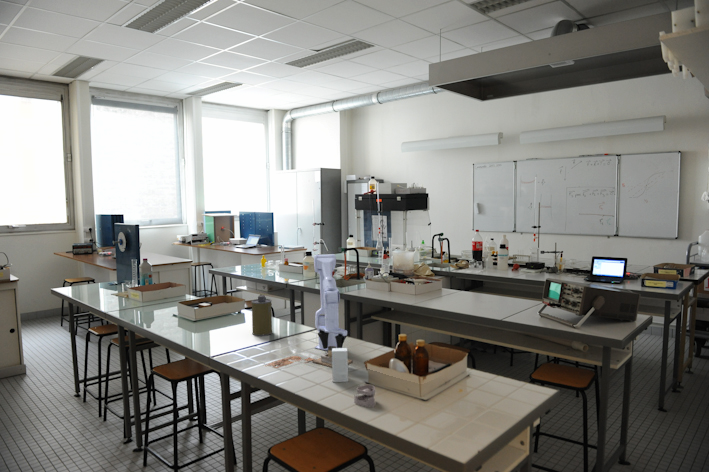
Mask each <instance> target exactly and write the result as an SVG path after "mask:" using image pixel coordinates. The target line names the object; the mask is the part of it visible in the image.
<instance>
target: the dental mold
mask: <svg viewBox="0 0 709 472" xmlns="http://www.w3.org/2000/svg"><path fill="white" fill-rule="evenodd" d="M356 394H358V395H356ZM356 394H354V395H353V403H354V404H355V405H357V406H360V407H361V406H362V407H366V408H375V406H376V401H375V394H376V387H375V386H374V385H372V384H364V385H360V386H358V387H356Z"/></svg>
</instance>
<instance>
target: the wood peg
mask: <svg viewBox="0 0 709 472" xmlns="http://www.w3.org/2000/svg"><path fill="white" fill-rule="evenodd" d="M332 348H337V347H336V346H329V347H328V351H327V353H328V357H332Z"/></svg>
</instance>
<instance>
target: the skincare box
mask: <svg viewBox="0 0 709 472" xmlns="http://www.w3.org/2000/svg"><path fill="white" fill-rule="evenodd" d="M348 360H349V359H348V347H342V348H337V347H336V348H332V367H331V370H332V371H331V372H332V382H333V383H340V382H341V383H343V382H344V383H345V382H349V364H348Z"/></svg>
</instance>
